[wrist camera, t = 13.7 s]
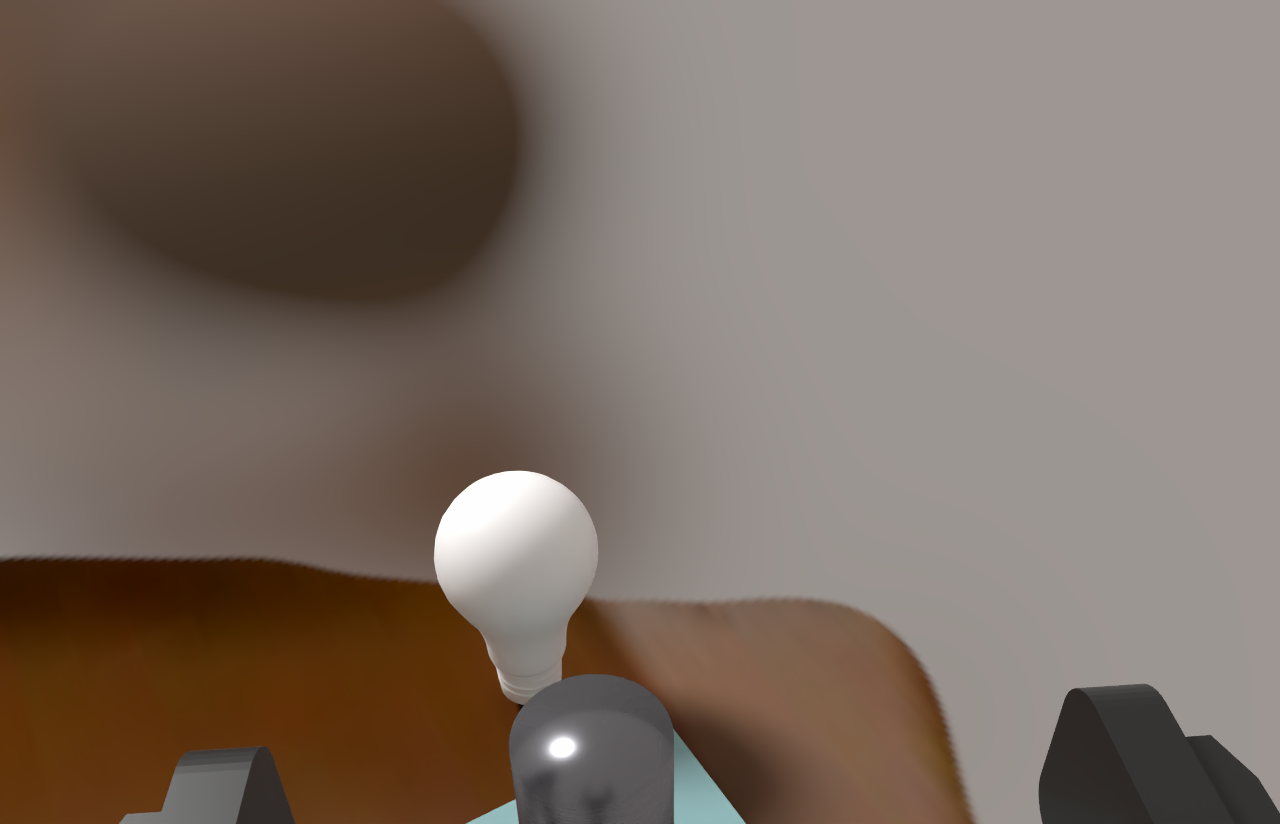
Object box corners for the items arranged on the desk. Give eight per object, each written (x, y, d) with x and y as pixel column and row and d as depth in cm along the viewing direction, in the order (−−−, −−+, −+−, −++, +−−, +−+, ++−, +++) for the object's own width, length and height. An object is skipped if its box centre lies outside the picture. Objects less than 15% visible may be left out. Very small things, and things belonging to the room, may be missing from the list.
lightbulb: (634, 708, 45) (627, 501, 39) (502, 780, 43) (472, 571, 36) (558, 619, 49) (540, 419, 43) (434, 680, 47) (395, 476, 40)
